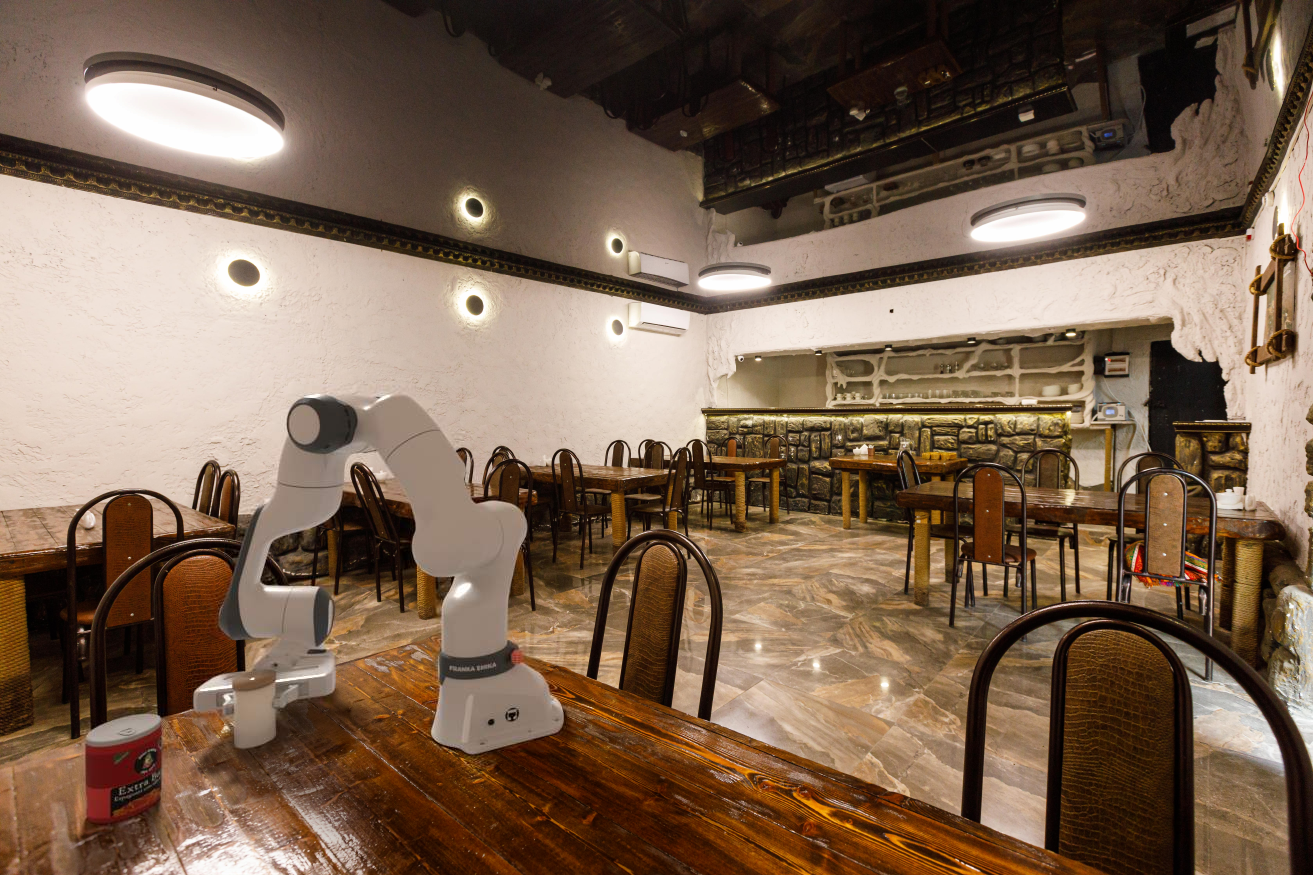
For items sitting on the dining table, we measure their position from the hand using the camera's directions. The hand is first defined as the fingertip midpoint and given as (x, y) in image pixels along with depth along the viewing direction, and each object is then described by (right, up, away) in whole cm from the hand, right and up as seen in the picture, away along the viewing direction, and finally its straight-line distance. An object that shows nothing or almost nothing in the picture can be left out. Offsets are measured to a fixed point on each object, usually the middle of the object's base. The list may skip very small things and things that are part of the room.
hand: (253, 706), depth 91 cm
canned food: (-9, -8, -12) cm, 17 cm away
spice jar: (0, -6, +1) cm, 6 cm away
